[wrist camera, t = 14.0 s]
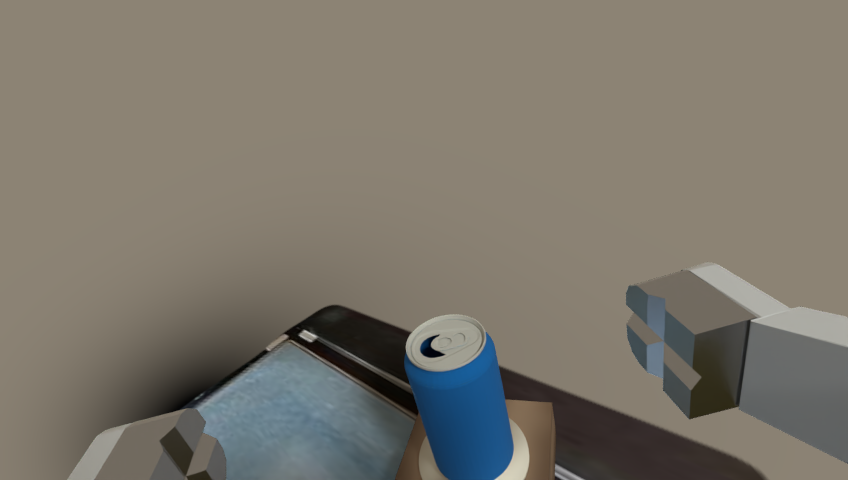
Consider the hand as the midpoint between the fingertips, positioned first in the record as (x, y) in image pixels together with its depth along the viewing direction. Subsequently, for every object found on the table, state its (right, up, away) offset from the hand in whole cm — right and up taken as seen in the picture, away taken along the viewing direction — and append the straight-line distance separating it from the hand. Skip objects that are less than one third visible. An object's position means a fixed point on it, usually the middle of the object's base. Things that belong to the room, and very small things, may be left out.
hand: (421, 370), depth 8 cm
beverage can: (+4, -15, +27) cm, 31 cm away
